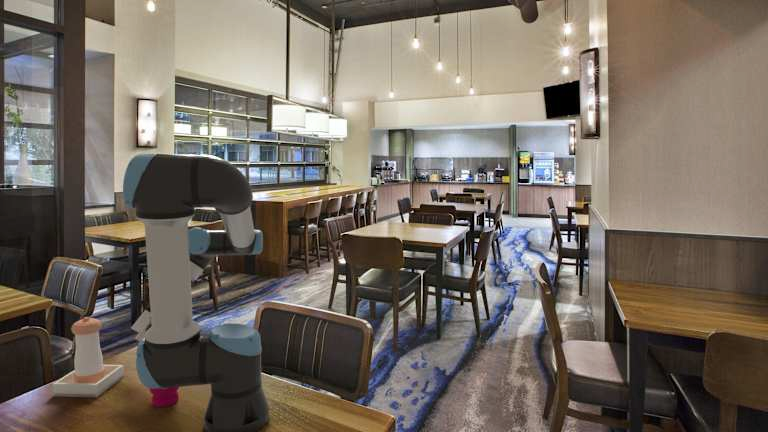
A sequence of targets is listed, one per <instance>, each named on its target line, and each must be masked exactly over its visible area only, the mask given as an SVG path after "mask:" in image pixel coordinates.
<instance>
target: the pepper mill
mask: <svg viewBox="0 0 768 432" xmlns="http://www.w3.org/2000/svg"><path fill="white" fill-rule="evenodd" d="M179 389H180V387H171V388H168V389H162V388H154V389H150V388H149V393H150V394H152V397H151V402H152V403H151V404H152V406H153V407H155V408H156V407H157V408H165V407H169V406H172V405H174V404H176V403H177V402H178V401H179V398H180V397H179V391H178V390H179Z"/></svg>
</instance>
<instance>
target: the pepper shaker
mask: <svg viewBox="0 0 768 432" xmlns="http://www.w3.org/2000/svg"><path fill="white" fill-rule="evenodd" d="M101 328H102V321H101V320H99V319H97V318H95V317H94V318H92V317H89V316H84V317H83V318H81V319H79V320H77V321H76V322H74V323H73V324H72V325H71V327H70V330H71V333H72V334H73V335H75V336H74V338H75V352H74V359H73V360H74V361H73V364H74V365H73V366H74V370H75V373H74V375H73V376H74V383H94V384H96V383H97V382H98V381H100V380H101V379H103V378H104V377H105V369H104V367H103V365H104V361H103V360H104V359H103V353H102V349H101V346H100V330H101Z"/></svg>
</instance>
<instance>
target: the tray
mask: <svg viewBox="0 0 768 432" xmlns="http://www.w3.org/2000/svg"><path fill="white" fill-rule="evenodd" d="M124 366H125V365H124V364H103V367H104V369H105V377H104V378H103V379H101V380H100V381H98V382H97V383H96V384H94V383H74V376H73V375H74V373H75V369H74V370H72V371H71V372H69V373H67V374H66V375H64V376H63V377H60V378H59V379H58V380H56V381H55V382H53V383H52V384H51V385H52V397H71V398H72V397H73V398H98V397H99V396H101V395H102V394H103V393H105V392H106V391H107V390H108V389H110V388H111V387H113V386H114V385H115V384H116V383H117V382H119V381H120V380H121V379H123V378H124V377H125V369H124V368H125V367H124Z"/></svg>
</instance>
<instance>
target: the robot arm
mask: <svg viewBox="0 0 768 432" xmlns="http://www.w3.org/2000/svg"><path fill="white" fill-rule="evenodd" d="M253 198H254V196H253V190H252V186H251V183H250V182H249V179H248V178H247V177H246V176H245V174H244V173H243V172H242V171H241V170H240V169H238V167H236V166H235V165H234V164H232V163H230V162H229V161H227V160H226V159H223V158H220V157H218V156H214V155H210V154H180V153H159V152H155V153H142V154H137V155H135V156H133V157H132V158H131V159H130V160H129V162H128V165H127V167H126V169H125V172H124V177H123V183H122V199H123V200H124V204H125V206H126V207H127V208H129V209H132V210H133V209H135V218H136V219H137V220H138V221H140V222H141V223H143V225H144V234H145V235H144V237H145V249H146V264H147V276H148V289H149V302H148V303H147V305H146V309H144V311H143V312H142V313H141V315H140V316H139V317H138V319H137V320H135V322H134V324H133V325H132V326H131V328H130V329H131V330H133V331H135V332H137V333H138V334H137V335H136V337H134V340H136V341H138V344H137V347H136V360H135V365H136V371H137V376H138V379H139V381H140V382H141V384H142V385H143V386H144V387H146V388H147V389H149V390H150V389H154V388H162V389H168V388H171V387H179V388H182V387H192V386H193V387H194V386H203V385H210V388H211V392H210V393H211V394H210V397H209V401H208V404H207V407H206V411H205V413H204V416H203V417H204V418H203V420H204V421H203V423H204V427H203V428H204V430H205V432H257V431H259V430H260V429H262V428H263V427H264V426H266V424H267V422H268V421H269V419H270V405H269V403H268V400H267V398H266V395H265V391H264V390H263V387H262V351H263V348H262V343H261V341H262V340H261V334H260V332H259V331H258V330H257V329H255V328H254V327H253V326H250V325H246V324H242V323H235V322H233V323H231V322H230V323H223V324H218V325H215V326H213V327H212V328H211V329H210V331H209V333H201V325H200V324H199V323H198V322H196V321H195V320H194V319H193V318H194V316H193V297H192V287H193V285H194V283H195V282H194V281H197V280H198V278H199V277H202V276H203V275H204V273H203V272H204V271H205V269H206V268H207V267H208V266H209V264H210V263H211V262H212V260H213V259H214V258H215V257H216V256H246V255H247V256H252V255H260V254H261V253H263V249H264V248H263V246H264V243H263V241H264V239H263V238H264V237H263V236H264V235H263V231H262V230H260V229H255V227H254V220H253V215H252V210H251V204H252V203H253ZM196 208H197V209H199V208H201V209H202V208H211V209H212V208H213V209H215V211H217V212H218V213H219V215H220V218H221V221H222V223H223V226H224V229H223V230H221V229H220V230H219V229H218V230H215V229H214V230H212V229H211V230H209V229H204V228H202V227H192V228H190V229H189V221H191V220H192V219H193V218H194V216H195V215H196V211H195V209H196Z"/></svg>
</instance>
